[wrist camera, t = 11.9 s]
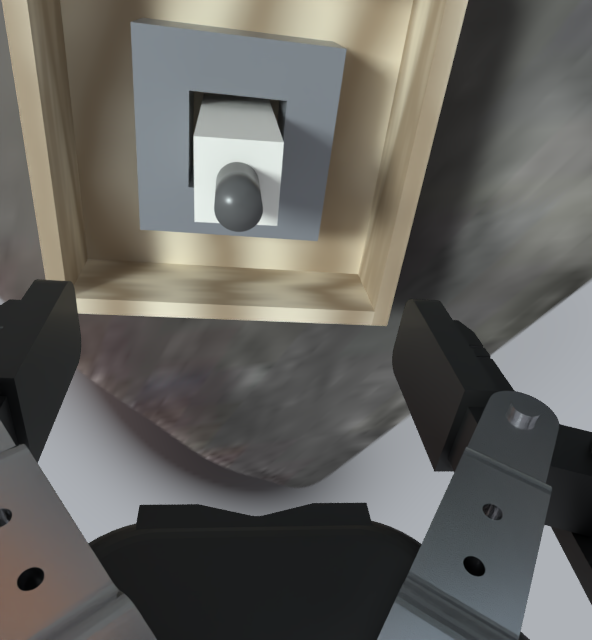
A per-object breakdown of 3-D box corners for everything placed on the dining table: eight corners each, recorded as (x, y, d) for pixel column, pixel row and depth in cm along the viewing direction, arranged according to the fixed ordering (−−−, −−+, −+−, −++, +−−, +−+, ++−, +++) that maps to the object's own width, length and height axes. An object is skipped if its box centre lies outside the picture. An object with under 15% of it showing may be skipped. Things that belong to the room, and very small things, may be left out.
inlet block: (332, 41, 28) (346, 48, 25) (309, 215, 33) (317, 241, 30) (143, 17, 27) (130, 22, 23) (149, 204, 32) (139, 229, 29)
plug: (268, 98, 29) (291, 163, 18) (264, 161, 31) (283, 255, 20) (204, 92, 29) (188, 157, 18) (204, 157, 31) (189, 251, 20)
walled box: (437, -57, 27) (484, -66, 22) (366, 280, 38) (386, 326, 33) (30, -122, 24) (-22, -150, 19) (77, 265, 35) (51, 312, 30)
